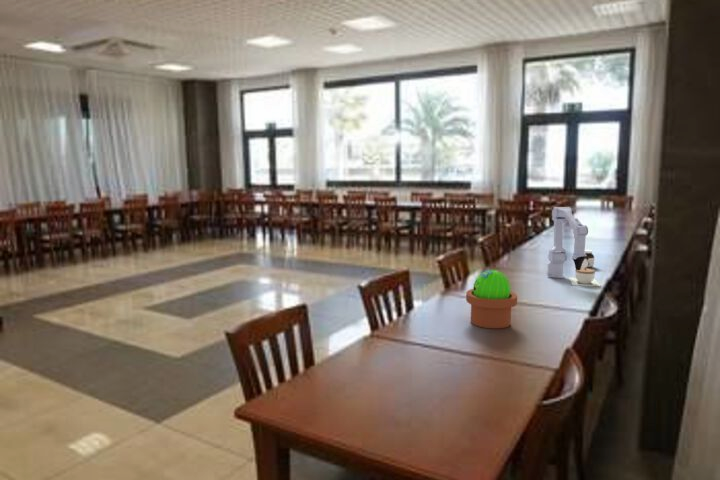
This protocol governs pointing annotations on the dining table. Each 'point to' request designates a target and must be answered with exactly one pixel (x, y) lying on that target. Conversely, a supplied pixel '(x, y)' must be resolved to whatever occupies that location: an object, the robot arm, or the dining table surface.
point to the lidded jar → (585, 275)
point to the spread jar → (588, 259)
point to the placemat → (576, 282)
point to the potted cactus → (491, 300)
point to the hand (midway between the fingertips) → (578, 269)
